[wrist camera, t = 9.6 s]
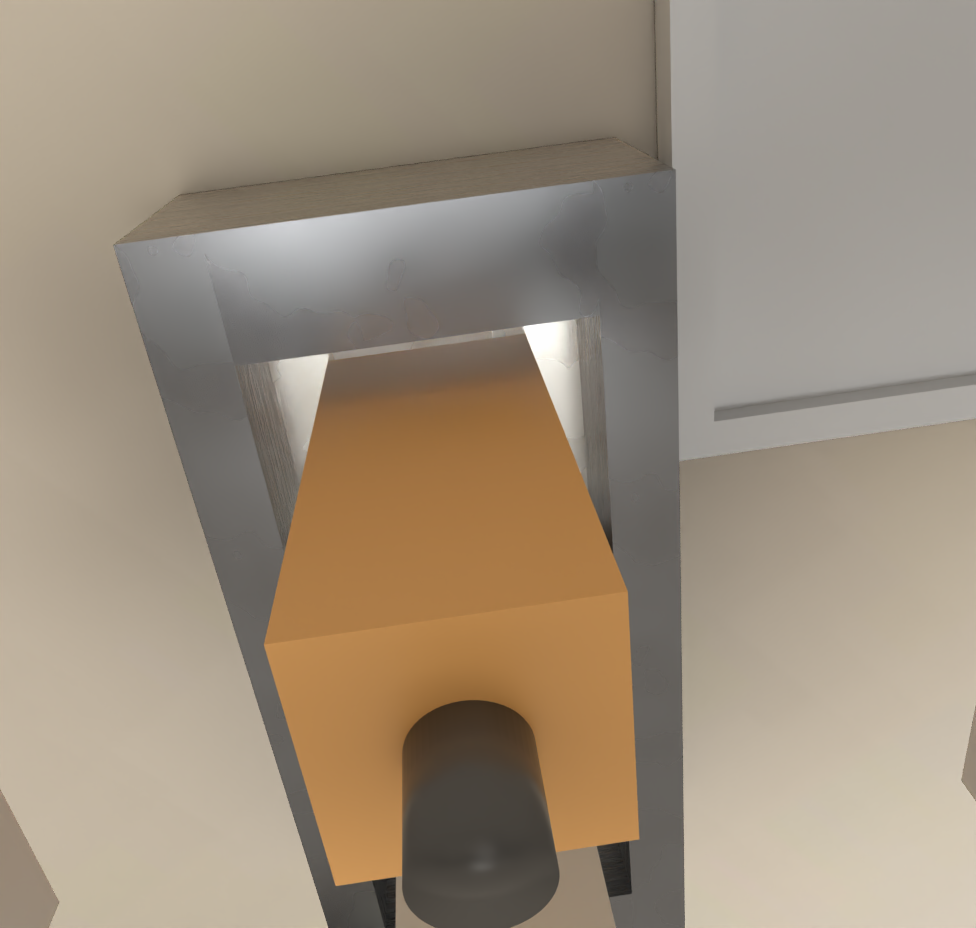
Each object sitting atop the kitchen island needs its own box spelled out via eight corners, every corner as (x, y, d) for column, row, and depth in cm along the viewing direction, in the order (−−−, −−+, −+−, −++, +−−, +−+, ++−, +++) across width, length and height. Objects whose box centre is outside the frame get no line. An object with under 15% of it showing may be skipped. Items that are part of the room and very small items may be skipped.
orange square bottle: (525, 333, 19) (673, 704, 9) (542, 503, 22) (677, 972, 11) (327, 360, 19) (234, 771, 9) (363, 529, 21) (325, 1028, 11)
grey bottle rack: (614, 137, 20) (675, 169, 15) (642, 804, 30) (685, 940, 25) (179, 195, 19) (113, 244, 15) (357, 848, 30) (349, 993, 25)
